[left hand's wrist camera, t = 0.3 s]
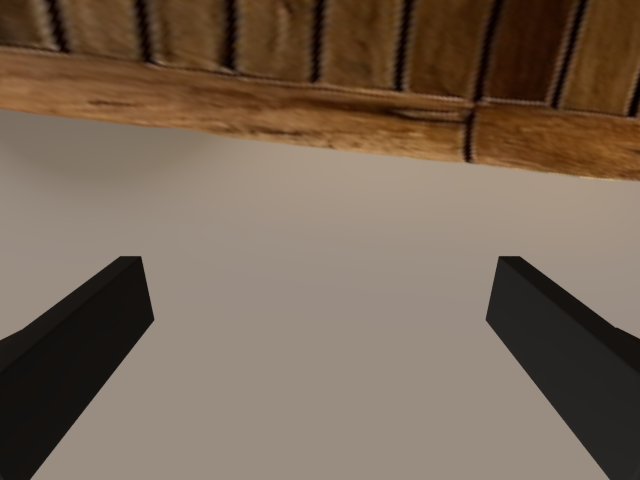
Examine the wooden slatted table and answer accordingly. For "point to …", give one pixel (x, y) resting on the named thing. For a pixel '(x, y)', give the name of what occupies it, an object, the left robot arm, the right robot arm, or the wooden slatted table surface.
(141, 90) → the wooden slatted table surface
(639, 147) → the wooden slatted table surface
